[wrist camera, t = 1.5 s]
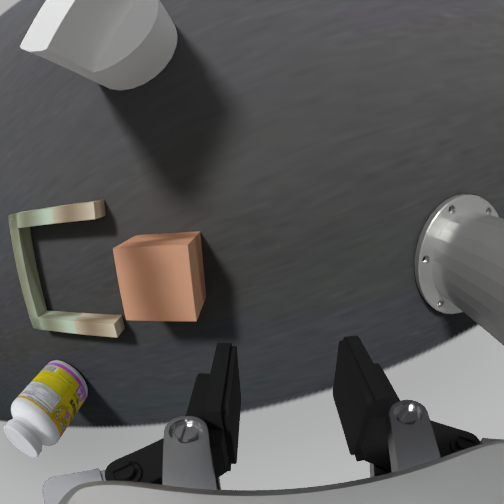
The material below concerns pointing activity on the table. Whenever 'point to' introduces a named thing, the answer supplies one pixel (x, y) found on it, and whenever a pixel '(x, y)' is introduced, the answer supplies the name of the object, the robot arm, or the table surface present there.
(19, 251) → the walled lane
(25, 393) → the supplement bottle
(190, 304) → the terracotta block
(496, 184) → the table surface
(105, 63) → the base with upright slab
